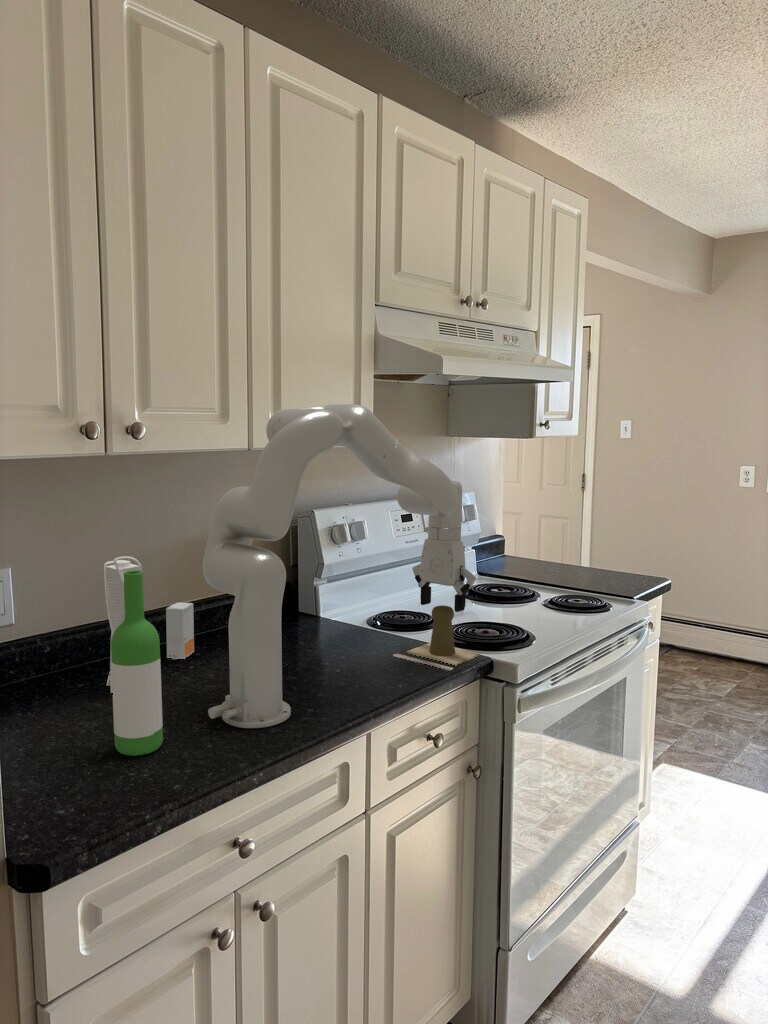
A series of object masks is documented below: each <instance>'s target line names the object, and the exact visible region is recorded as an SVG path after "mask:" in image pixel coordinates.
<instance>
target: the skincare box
mask: <svg viewBox="0 0 768 1024" xmlns="http://www.w3.org/2000/svg"><path fill="white" fill-rule="evenodd" d="M194 617H195V615H194V603H192V602H180V601H179V602H175V603H173V604H171V605H170V606H168V607H166V608H165V622H166V623H165V625H166V628H165V629H166V631H165V633H166V659H167V658H172V659H171V660H177V659H184V660H185V659H186V657H187V658H188V657H189V656H191V655H192V653H193V652H194V653H195V635H194V634H195V631H194V629H195V628H194V627H195V626H194V625H195V623H194V621H195V620H194ZM194 653H193V654H194ZM190 654H191V655H190Z"/></svg>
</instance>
